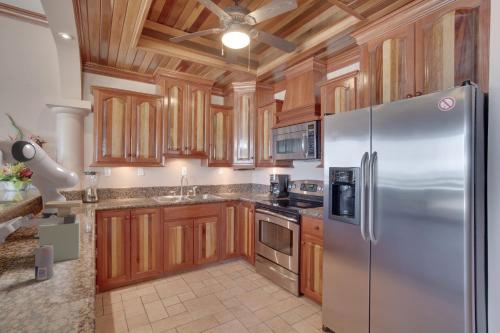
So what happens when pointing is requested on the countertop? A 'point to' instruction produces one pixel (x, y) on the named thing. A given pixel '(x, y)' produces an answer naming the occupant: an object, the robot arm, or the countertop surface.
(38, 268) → the energy drink
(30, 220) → the hammer
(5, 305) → the countertop surface
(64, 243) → the pale green box
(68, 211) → the stand
